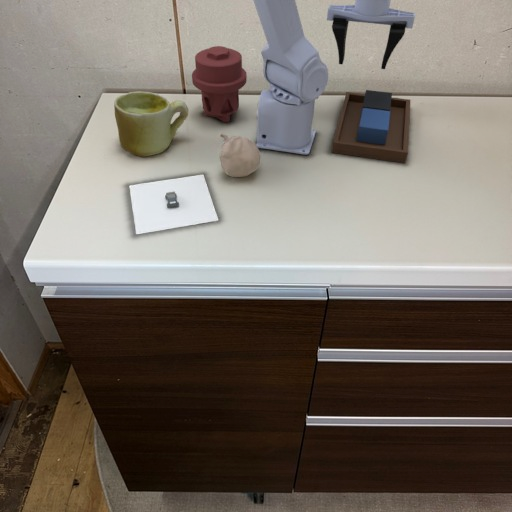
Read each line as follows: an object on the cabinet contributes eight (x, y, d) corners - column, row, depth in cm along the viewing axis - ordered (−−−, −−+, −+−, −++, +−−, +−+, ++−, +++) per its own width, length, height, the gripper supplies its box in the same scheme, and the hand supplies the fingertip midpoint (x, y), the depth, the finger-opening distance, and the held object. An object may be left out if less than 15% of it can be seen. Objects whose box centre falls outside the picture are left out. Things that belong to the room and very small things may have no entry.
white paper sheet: (203, 174, 78) (202, 166, 77) (218, 220, 70) (218, 212, 68) (129, 185, 75) (127, 177, 74) (136, 234, 67) (134, 226, 66)
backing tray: (331, 152, 83) (332, 142, 81) (344, 101, 96) (346, 91, 95) (404, 163, 81) (407, 152, 79) (407, 109, 94) (410, 99, 93)
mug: (108, 156, 78) (111, 93, 73) (116, 142, 87) (119, 85, 83) (183, 166, 80) (190, 106, 76) (183, 151, 89) (189, 96, 85)
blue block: (356, 141, 84) (359, 126, 82) (360, 122, 89) (362, 107, 87) (384, 145, 83) (388, 130, 81) (387, 125, 88) (390, 111, 86)
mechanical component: (184, 117, 91) (217, 97, 97) (225, 133, 87) (256, 111, 93) (177, 52, 82) (214, 35, 88) (222, 66, 78) (257, 48, 84)
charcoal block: (360, 121, 89) (362, 106, 87) (363, 104, 94) (366, 89, 92) (386, 124, 89) (390, 109, 86) (388, 107, 93) (392, 92, 91)
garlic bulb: (226, 160, 81) (224, 117, 75) (263, 164, 80) (264, 121, 74) (216, 182, 76) (214, 139, 70) (255, 187, 75) (256, 143, 70)
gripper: (422, -22, 78) (403, 60, 88) (335, -29, 81) (326, 51, 91) (421, -9, 74) (401, 76, 83) (329, -17, 76) (320, 66, 86)
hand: (362, 64), depth 87 cm, fingers open, 7 cm apart
